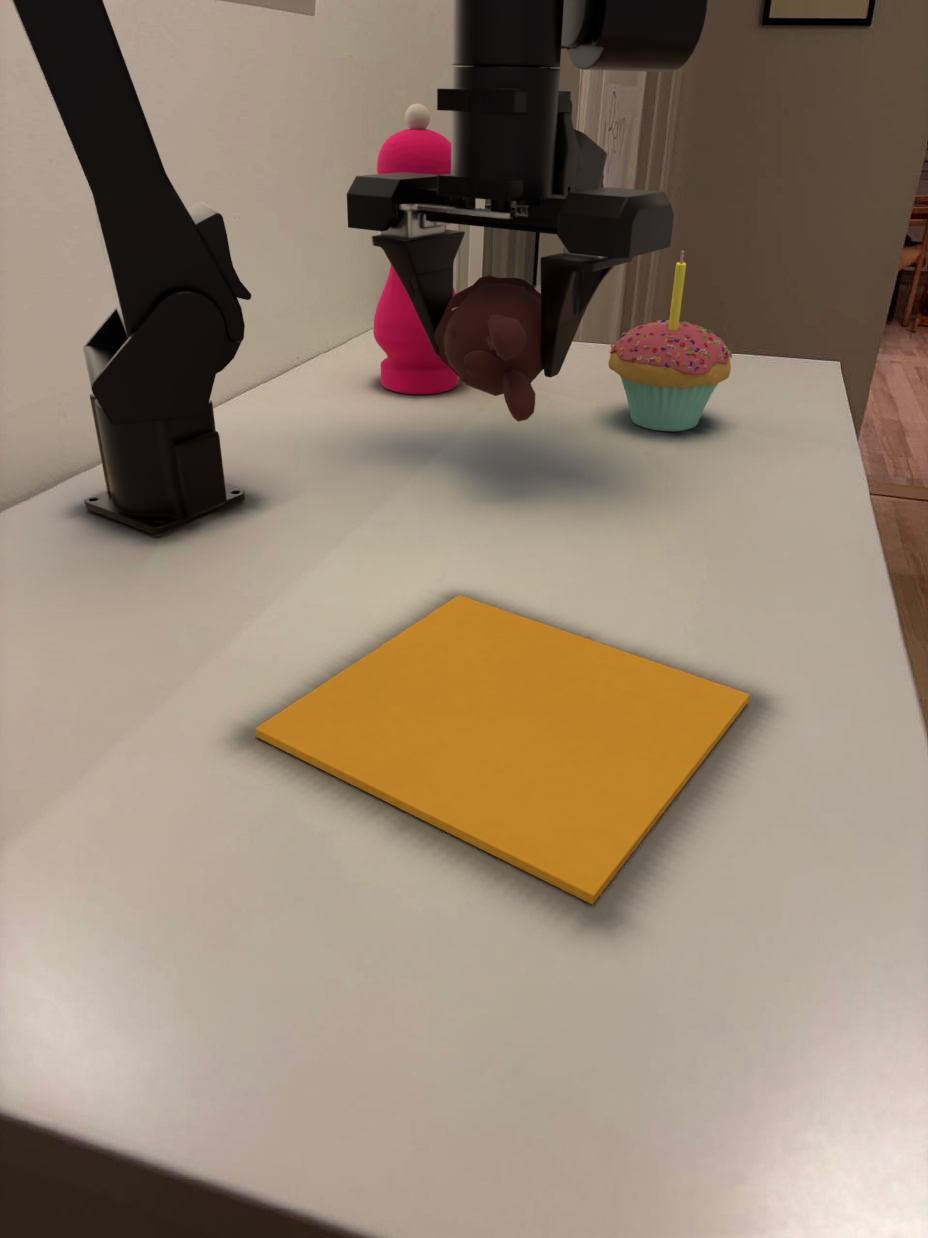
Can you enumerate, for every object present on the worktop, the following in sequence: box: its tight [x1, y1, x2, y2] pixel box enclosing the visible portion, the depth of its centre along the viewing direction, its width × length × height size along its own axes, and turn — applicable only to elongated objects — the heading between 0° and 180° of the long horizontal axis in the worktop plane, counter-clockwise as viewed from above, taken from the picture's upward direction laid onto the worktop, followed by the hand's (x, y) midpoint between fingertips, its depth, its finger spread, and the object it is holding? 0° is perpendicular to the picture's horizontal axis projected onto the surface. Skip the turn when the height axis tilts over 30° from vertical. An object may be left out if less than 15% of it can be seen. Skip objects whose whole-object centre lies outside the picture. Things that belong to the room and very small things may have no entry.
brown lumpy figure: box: [434, 274, 544, 422], centre depth 56 cm, size 7×7×15 cm
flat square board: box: [254, 594, 750, 905], centre depth 36 cm, size 14×13×1 cm
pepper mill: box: [372, 103, 459, 395], centre depth 71 cm, size 7×7×20 cm
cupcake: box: [607, 250, 733, 432], centre depth 65 cm, size 9×8×12 cm
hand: (495, 365), depth 57 cm, fingers closed on brown lumpy figure, 7 cm apart
